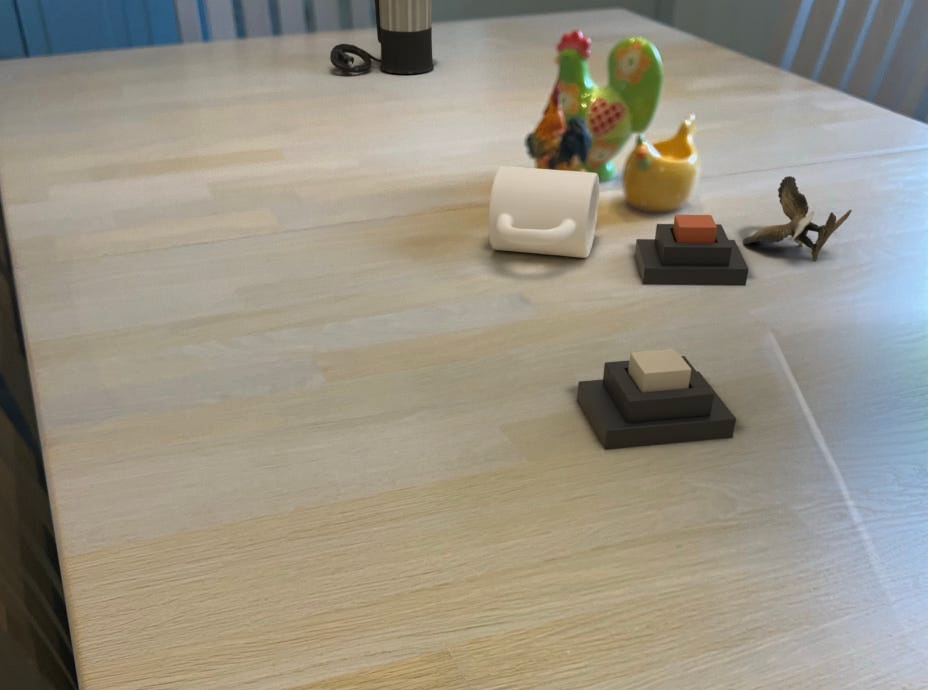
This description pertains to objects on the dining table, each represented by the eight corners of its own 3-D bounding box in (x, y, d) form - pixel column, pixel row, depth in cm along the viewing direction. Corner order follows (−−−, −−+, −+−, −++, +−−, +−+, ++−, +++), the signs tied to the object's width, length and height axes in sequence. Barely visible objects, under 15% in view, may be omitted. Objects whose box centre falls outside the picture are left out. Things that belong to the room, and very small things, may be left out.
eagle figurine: (851, 237, 105) (782, 200, 109) (854, 189, 99) (781, 151, 103) (800, 290, 105) (733, 251, 109) (800, 245, 99) (729, 205, 103)
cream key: (672, 369, 78) (675, 348, 77) (688, 390, 75) (691, 369, 74) (627, 373, 78) (630, 351, 77) (641, 395, 75) (644, 373, 74)
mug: (504, 234, 110) (506, 156, 105) (595, 242, 108) (602, 162, 103) (477, 275, 101) (478, 191, 96) (576, 284, 99) (582, 200, 94)
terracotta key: (708, 232, 101) (711, 214, 100) (714, 245, 98) (717, 227, 97) (672, 232, 101) (674, 214, 100) (676, 245, 99) (679, 226, 97)
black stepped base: (695, 390, 82) (702, 349, 80) (732, 438, 76) (741, 396, 74) (576, 400, 81) (579, 359, 79) (604, 450, 75) (609, 408, 73)
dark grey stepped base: (731, 256, 105) (737, 221, 102) (745, 286, 99) (752, 250, 96) (634, 255, 105) (638, 220, 103) (642, 285, 99) (646, 249, 97)
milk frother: (446, 68, 171) (445, -36, 162) (378, 85, 163) (373, -25, 153) (387, 56, 179) (383, -44, 169) (320, 72, 170) (311, -34, 160)
